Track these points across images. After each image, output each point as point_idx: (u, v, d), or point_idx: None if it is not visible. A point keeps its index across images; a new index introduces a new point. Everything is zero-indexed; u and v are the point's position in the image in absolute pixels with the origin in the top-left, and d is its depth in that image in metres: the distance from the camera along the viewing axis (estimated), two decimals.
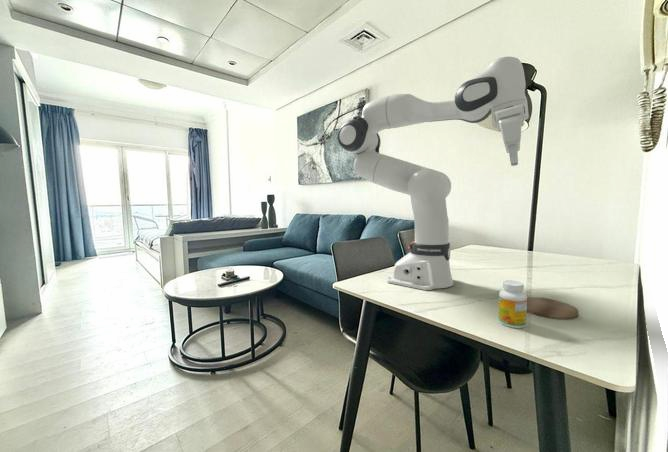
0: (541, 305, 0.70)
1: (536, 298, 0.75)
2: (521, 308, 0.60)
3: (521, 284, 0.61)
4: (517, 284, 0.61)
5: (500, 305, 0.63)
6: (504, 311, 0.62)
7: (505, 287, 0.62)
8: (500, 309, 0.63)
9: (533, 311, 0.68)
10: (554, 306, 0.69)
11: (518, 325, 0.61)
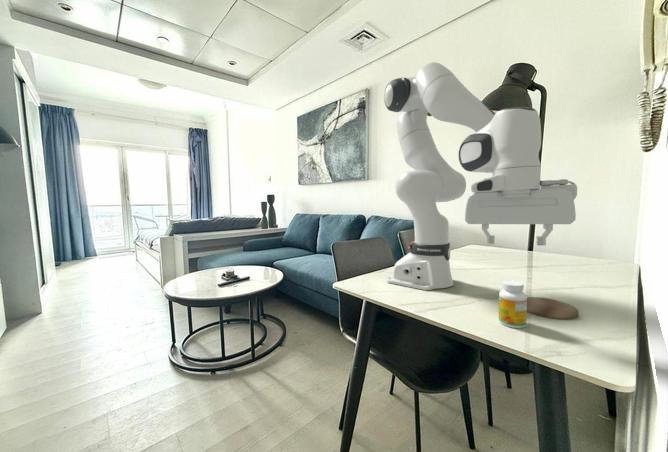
0: (541, 305, 0.70)
1: (536, 298, 0.75)
2: (521, 308, 0.60)
3: (521, 284, 0.61)
4: (517, 284, 0.61)
5: (500, 305, 0.63)
6: (504, 311, 0.62)
7: (505, 287, 0.62)
8: (500, 309, 0.63)
9: (533, 311, 0.68)
10: (554, 306, 0.69)
11: (518, 325, 0.61)
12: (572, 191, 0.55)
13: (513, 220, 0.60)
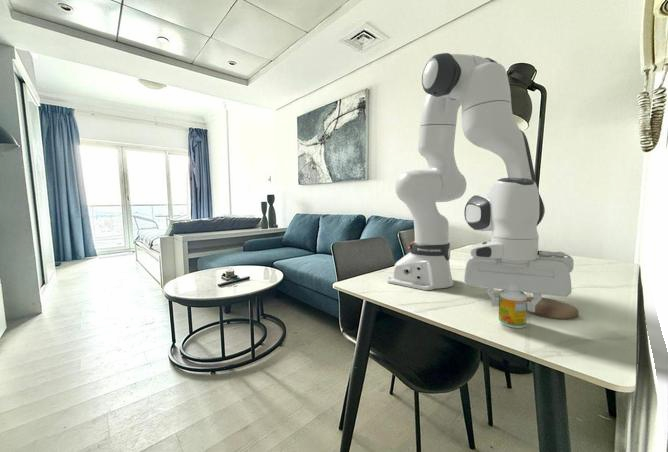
0: (541, 305, 0.70)
1: None
2: (521, 308, 0.60)
3: None
4: None
5: (500, 305, 0.63)
6: (504, 311, 0.62)
7: None
8: (500, 309, 0.63)
9: None
10: (554, 306, 0.69)
11: (518, 325, 0.61)
12: (568, 264, 0.57)
13: None
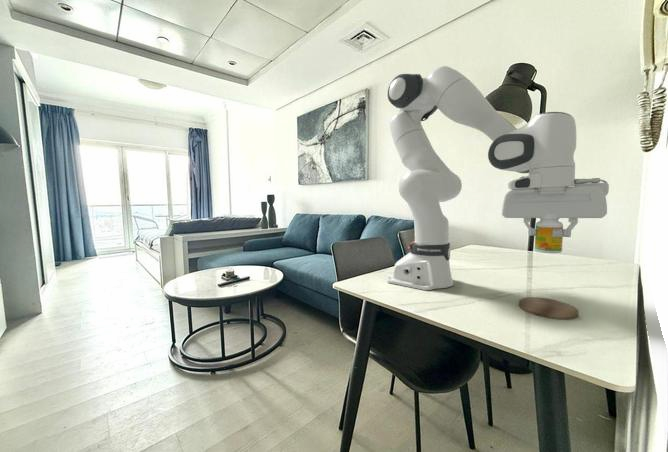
0: (541, 305, 0.70)
1: (536, 298, 0.75)
2: (557, 234, 0.65)
3: None
4: None
5: (537, 234, 0.68)
6: (541, 238, 0.67)
7: None
8: (537, 238, 0.68)
9: (533, 311, 0.68)
10: (554, 306, 0.69)
11: (555, 250, 0.66)
12: (604, 188, 0.62)
13: None
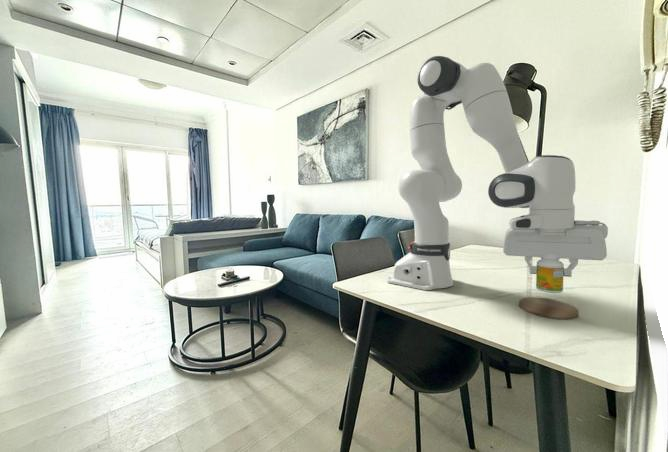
0: (541, 305, 0.70)
1: (536, 298, 0.75)
2: (558, 275, 0.66)
3: None
4: None
5: (538, 273, 0.69)
6: (543, 278, 0.68)
7: None
8: (538, 277, 0.69)
9: (533, 311, 0.68)
10: (554, 306, 0.69)
11: (556, 290, 0.67)
12: (603, 231, 0.63)
13: None
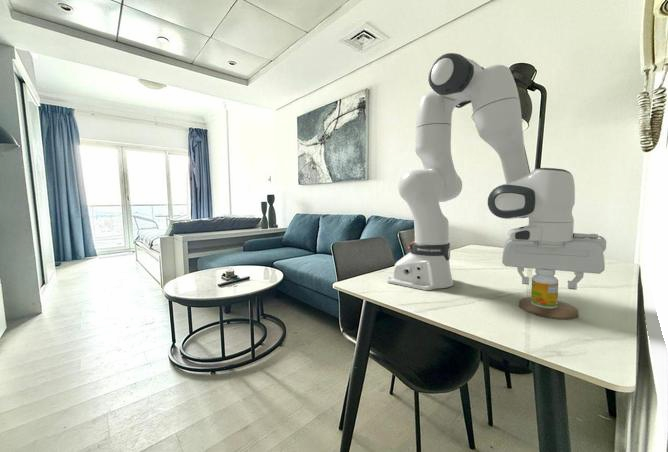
0: None
1: None
2: (553, 291, 0.67)
3: None
4: None
5: (533, 288, 0.70)
6: (537, 293, 0.69)
7: (538, 272, 0.69)
8: (533, 292, 0.70)
9: (533, 311, 0.68)
10: None
11: (550, 306, 0.68)
12: (602, 245, 0.63)
13: (547, 266, 0.68)
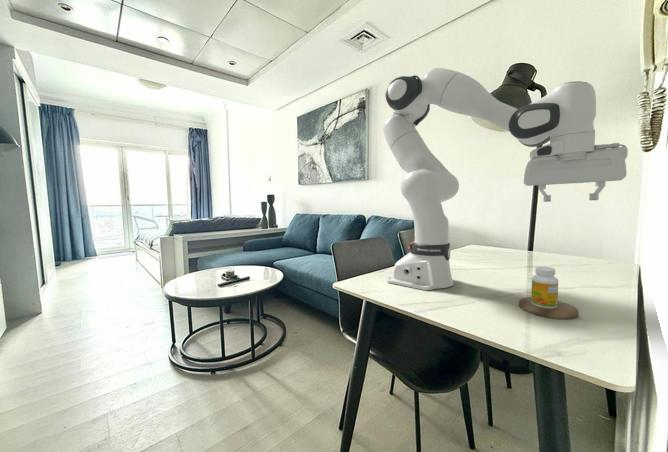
0: None
1: None
2: (553, 291, 0.67)
3: (553, 269, 0.68)
4: (549, 269, 0.68)
5: (533, 288, 0.70)
6: (537, 293, 0.69)
7: (538, 272, 0.69)
8: (533, 292, 0.70)
9: (533, 311, 0.68)
10: None
11: (550, 306, 0.68)
12: (623, 152, 0.66)
13: (569, 179, 0.70)
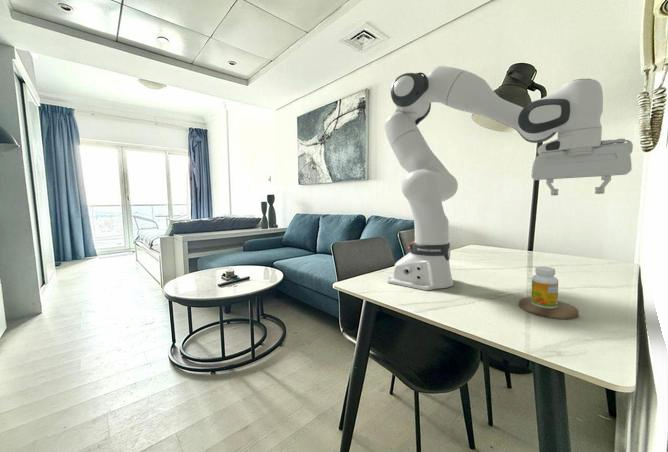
0: None
1: None
2: (553, 291, 0.67)
3: (553, 269, 0.68)
4: (549, 269, 0.68)
5: (533, 288, 0.70)
6: (537, 293, 0.69)
7: (538, 272, 0.69)
8: (533, 292, 0.70)
9: (533, 311, 0.68)
10: None
11: (550, 306, 0.68)
12: (628, 148, 0.68)
13: (576, 174, 0.73)
